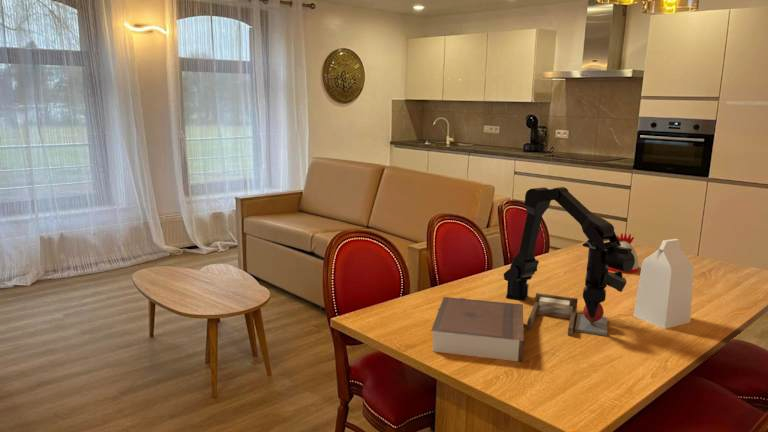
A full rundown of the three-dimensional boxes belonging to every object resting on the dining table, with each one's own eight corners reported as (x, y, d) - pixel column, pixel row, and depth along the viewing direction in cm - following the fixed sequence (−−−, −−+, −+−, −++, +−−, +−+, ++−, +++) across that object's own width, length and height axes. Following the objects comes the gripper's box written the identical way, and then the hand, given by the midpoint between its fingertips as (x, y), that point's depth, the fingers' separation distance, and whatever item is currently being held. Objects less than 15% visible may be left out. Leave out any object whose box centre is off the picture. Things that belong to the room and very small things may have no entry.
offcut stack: (536, 313, 186) (537, 300, 185) (537, 309, 190) (538, 296, 189) (571, 319, 182) (572, 305, 182) (572, 314, 186) (573, 301, 186)
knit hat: (643, 273, 233) (648, 237, 230) (609, 273, 233) (613, 236, 230) (629, 264, 246) (633, 229, 243) (597, 263, 246) (600, 229, 243)
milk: (664, 328, 176) (675, 246, 171) (633, 316, 186) (642, 237, 181) (690, 322, 182) (700, 242, 177) (658, 310, 192) (667, 234, 187)
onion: (578, 318, 180) (582, 294, 178) (596, 318, 181) (600, 295, 179) (586, 326, 175) (590, 301, 173) (604, 327, 175) (609, 302, 173)
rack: (526, 328, 174) (528, 313, 173) (535, 307, 192) (536, 292, 191) (571, 336, 169) (573, 319, 168) (576, 313, 188) (577, 298, 187)
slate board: (574, 331, 173) (574, 328, 173) (577, 315, 186) (577, 313, 186) (606, 336, 170) (606, 333, 170) (607, 319, 183) (607, 317, 182)
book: (521, 324, 179) (522, 304, 178) (522, 364, 152) (523, 340, 151) (442, 316, 184) (443, 296, 183) (430, 353, 157) (430, 330, 156)
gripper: (626, 275, 162) (621, 327, 166) (625, 259, 179) (620, 306, 183) (585, 270, 166) (580, 321, 169) (588, 254, 183) (583, 301, 187)
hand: (592, 312), depth 177 cm, fingers open, 9 cm apart
